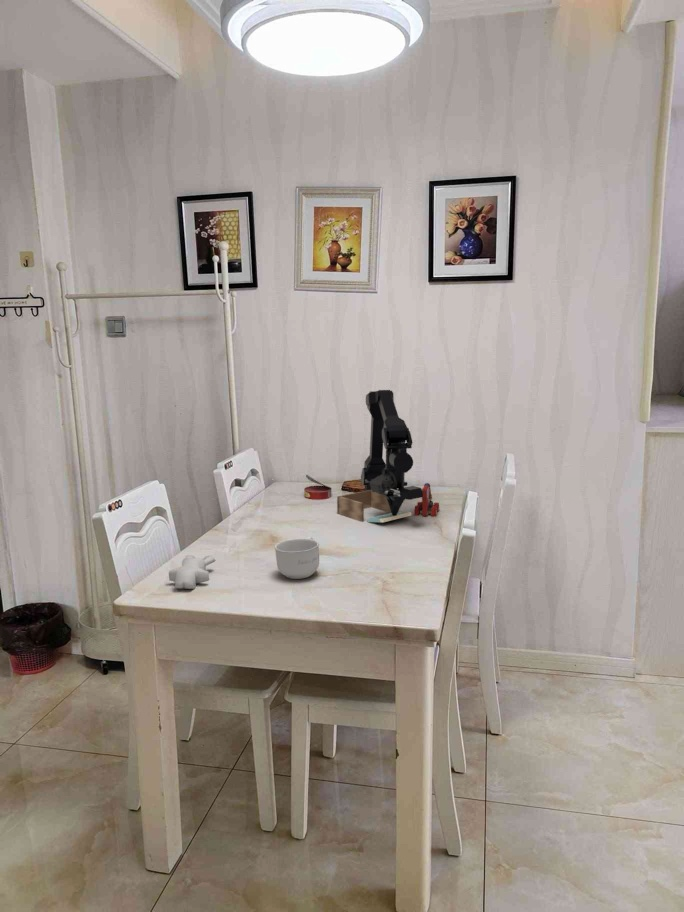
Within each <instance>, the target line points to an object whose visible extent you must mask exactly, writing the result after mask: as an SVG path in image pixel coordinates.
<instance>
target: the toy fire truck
mask: <svg viewBox="0 0 684 912" xmlns="http://www.w3.org/2000/svg"><path fill="white" fill-rule="evenodd" d="M421 489H422V490H423V497H421V499H422V500H421V501H418V502H417V505H415V506H414V511H413V515H414V516H418V517H419V516H420V515H422V517H427V516H429V515H430V516H431V517H432V518H433V517H434V518H435V517H437V515H438V513H439V511H440V502H434V501H433V495H432V492H431V491H432V490H431V485H430V483H429V482H426V483H424V484H423V487H422V488H421Z"/></svg>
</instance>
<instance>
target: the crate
mask: <svg viewBox="0 0 684 912" xmlns="http://www.w3.org/2000/svg"><path fill="white" fill-rule="evenodd" d="M336 497H337V498H336V502H337V503H336V504H337V507H336V508H337V510H336V511H337V512H336V513H337V515H340V516H343V517H345V518H349V519H352V520H355V521H357V522H361V523H363V522H364V521H365V516H364V515H365V512H364V511H365V510H366V509H368V508H369V509H370V508H372V509H376V510H378V511H382V512H386V513H388V514H389V513H392V512H391V509H390V506H389V503H388V501H387V499H386V498H385V497H384V496H383V495H381V494H378V493H376V492H372V490H367V491H365V490H363V491H358V492H353V493H348V494H342V495H337V496H336Z"/></svg>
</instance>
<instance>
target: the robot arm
mask: <svg viewBox="0 0 684 912" xmlns="http://www.w3.org/2000/svg"><path fill="white" fill-rule="evenodd" d="M394 399H395V398H394V392H393V390H390V389H378V390H373V391H369V392H368V393H367V394H366V395H365V406H366V407H367V410H368V412H369V414H370V415H371V417H370V418H371V420H370V439H369V440H370V441H369V455H368V456H367V457H366V458H365V461H364V465H363V468H362V470H361V474H360V483H361V484H362V486H364V491H367V490H372V492H376V493H378V494H381V495H383V496H384V497H385V498H386V499H387V501H388V503H389V506H390V509H391V512H392V515H393V516H396V515H397V513H398V512H400V508H401V506H402V505H403V503H404V501H405V500H408V501H409V500H410V501H411V500H415V499H419V498H421V499H422V497H423V490H422V489H423V488H421V487H418V486H415V485H411V486H408V482H407V481H405V474H406V473H408V472H410V470H412V467H413V465H414V460H413V457H412V456H411V454H409V453H408V452H407V451H408V449H412V448H413V446H412V445H413V443H414V442H413V439H412V433H411V431H410V429H409V427H408V425H407V424H406V422H405V420H404V419H402V418H401V417H399V416H400V415H399V414H398V413H399V412H398V410H397V407H396V404H395V400H394ZM384 449H385V460H384V459H383V458H384V457H383V453H384V452H383V451H384Z"/></svg>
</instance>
